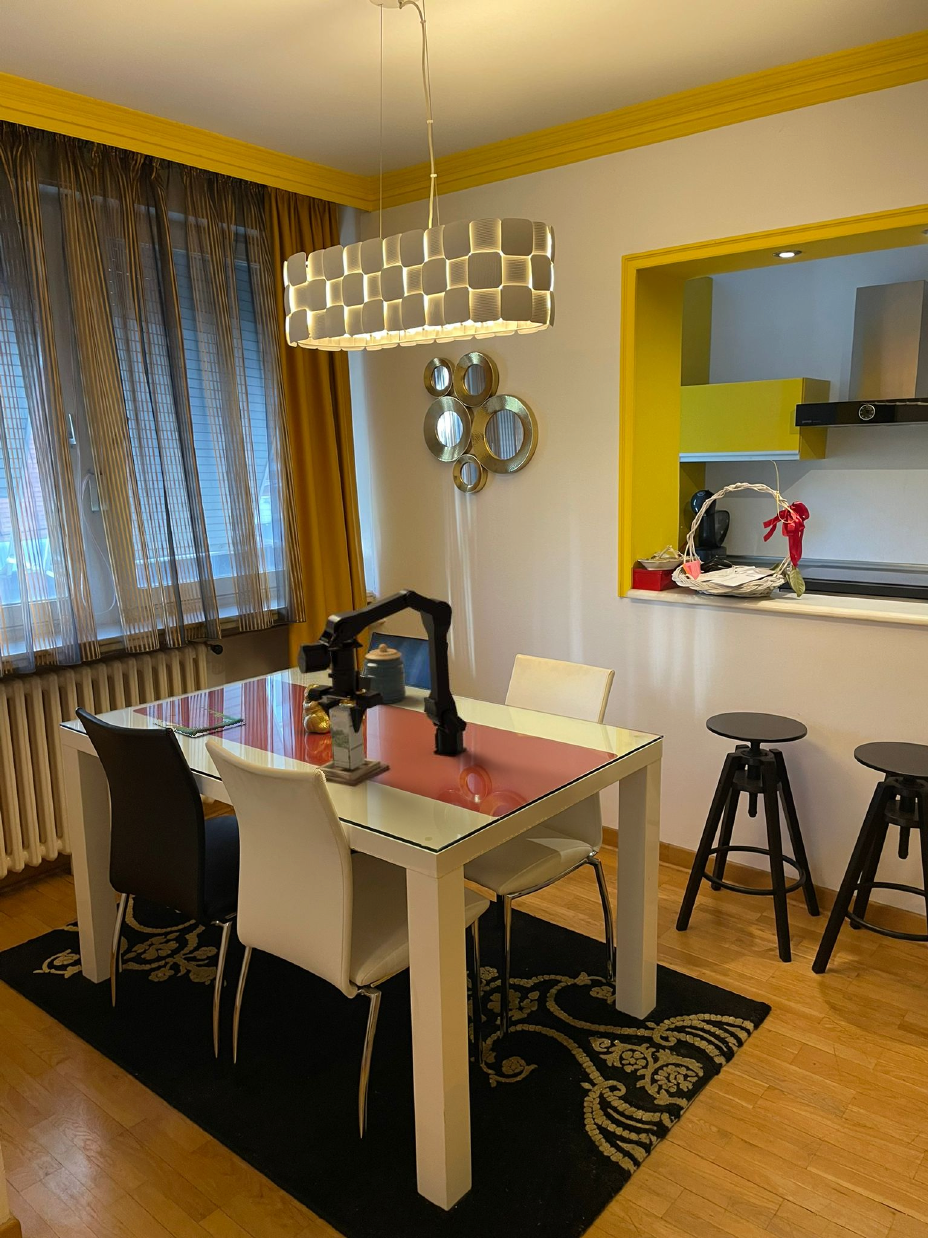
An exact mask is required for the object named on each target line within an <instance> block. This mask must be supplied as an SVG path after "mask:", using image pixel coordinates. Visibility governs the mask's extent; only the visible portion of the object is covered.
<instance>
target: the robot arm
mask: <svg viewBox="0 0 928 1238" xmlns="http://www.w3.org/2000/svg"><path fill="white" fill-rule="evenodd" d="M409 608H410V609H412V610H414V611H416V612H418V613H419V614H420V618H421V622H422V626H423V627H424V630H425V632H426V634H427V642H428V657H429V658H428V659H429V661H428V662H429V673H430V675H429V676H430V692H429V694H428V696H424V697H423V705H424V710H423V713H425V714H426V715H425V716H426V718H427V719H429V720H430V721H431V722H432V725H433V726H434V727H436V728H435V733H434V746H435V747H434V748H435V750H433V754H436V755H442V756H447V757H457V756H458V755H460V754H462V753H464V752H465V751H467V750H468V748H467V747H465V746H464V732H465V731H466V729H467V725H468V722H467V721H466V720H464V719H463V718H462V717H461V716H460V715H459V714H458V709H457V703H456V701H455V698H454V696H453V695H452V694H453V693H452V691H451V688H450V685H451V684H450V672H449V671H450V670H449V668H450V667H449V666H450V665H449V654H448V652H449V651H448V650H449V649H448V637H447V636H448V633H449V630H450V628H451V626H452V618H453V609H452V605H450V604H449V603H448V602H447V601H444V600H441V599H438V598H433V597H432V598H431V597H430V598H428V597H426V596H424V595H422V594H419V593H417V592H416V591H414V590H412V589H408V588H404V589H401V590H400V591H398V592H396V593H393V594H392V595H389V596H387V597H385V598H383V599H380V600H378V601H376V602H373V603H370V604H369V605H366V606H364V607H362V608H360V609H356V610H347V611H344V612H343V611H342V612H338V613H334V614H332V615H330V616H329V617H328V618H327V619H326V623H325V628H324V629H323V630H322V633H321V635H320V636H319V638H318V639H317V641H316V642H315V643H303V644H302V643H301V644H300V645H299V650H298V653H297V654H298V655H297V657H296V659H297V661H296V662H297V665H298V670H299V671H300V673H301V674H303V675H304V674H312V673H317V672H326V671H327V670H328V668H330V671H331V672H328V673H327V678H328V679H331V685H328V684H327V685H326V684H319V685H317V686H314V687H311V688H309V690H308V692H307V700H308V701H309V702H316V703H317V706H320V708H321V709H322V711H323V713H324V714H325V715H326V717H327V718H328V720H329V721H330V715H329V709H332V708H333V707H335V706H338V705H341V704H340V703H341V701H349V702H354V706H353V707H350V708H349V709H350V714H351V719H352V724H353V728H354V731H355V733H358V732H359V730H360V726H361V723H362V724H363V719H364V716H365V713H366V711H367V710H368V709H373V708H375V707H378V706H380V705H383V704H382V703H383V695H382V694H381V693H380V692H377V691H370V689H371V682H372V678H368V677H364V675H363V676H361V675H360V674H361V672H360V671H359V670H360V669H356V655H355V649H361V648H363V646H364V645H363V644H362V643H361V642H360V641H358V639H357V636H359V635H360V634H362V632H363V631H364V630H366V628H368V627H369V626H370V625H372V624H376V623H377V622H379V621H382V620H384V619H386V618H388V617H390V616H393V615H395V614H397V613H400V612H401V611H403V610H406V609H409ZM365 690H367V691H366V692H365ZM363 691H364V692H363Z"/></svg>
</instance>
